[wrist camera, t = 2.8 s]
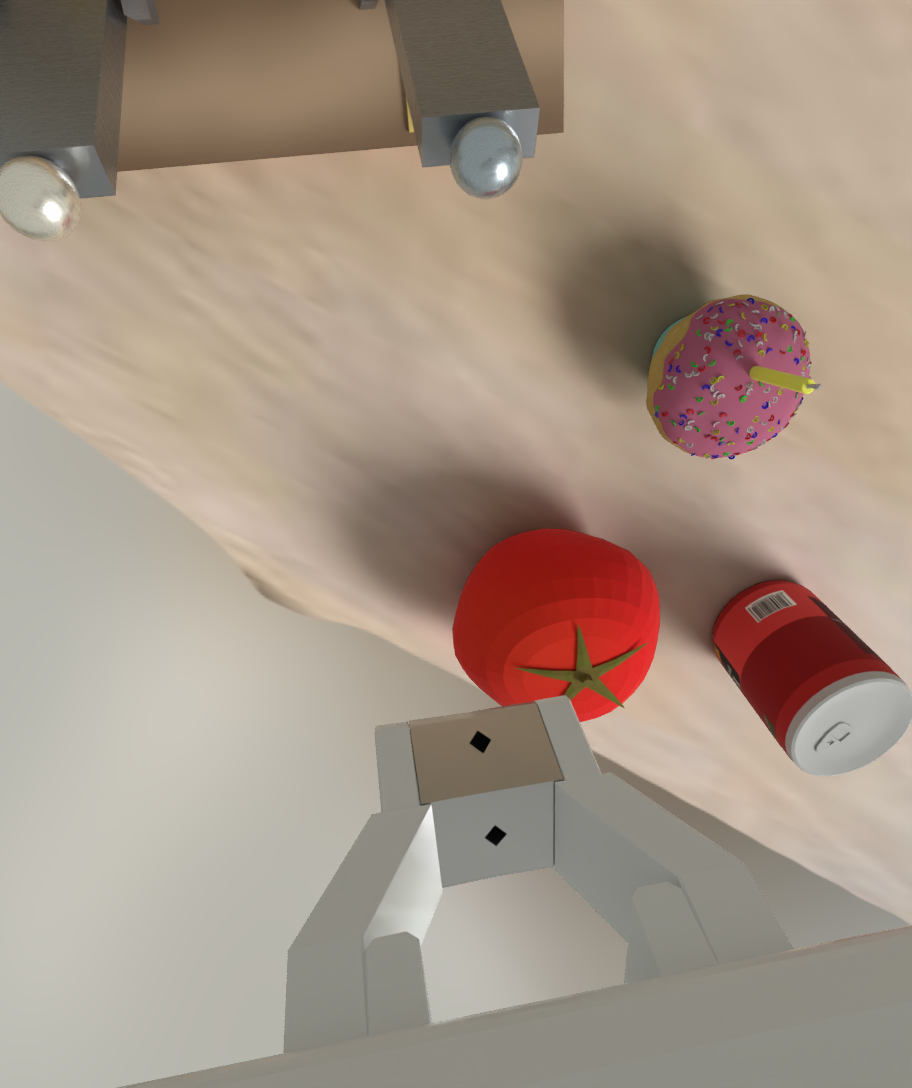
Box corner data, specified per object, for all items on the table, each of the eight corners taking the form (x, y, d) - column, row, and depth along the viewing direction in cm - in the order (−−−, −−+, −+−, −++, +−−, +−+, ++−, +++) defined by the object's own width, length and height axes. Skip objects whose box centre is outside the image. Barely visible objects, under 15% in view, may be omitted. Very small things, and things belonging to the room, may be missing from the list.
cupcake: (626, 285, 40) (731, 342, 30) (774, 273, 41) (927, 325, 30) (616, 434, 44) (704, 530, 34) (750, 420, 45) (876, 509, 35)
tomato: (597, 652, 52) (654, 763, 43) (429, 641, 50) (452, 757, 41) (646, 511, 47) (723, 603, 38) (461, 491, 44) (496, 585, 35)
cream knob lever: (130, 24, 27) (116, 251, 22) (28, 31, 27) (-12, 264, 21) (107, -46, 25) (84, 184, 20) (-4, -39, 25) (-58, 196, 19)
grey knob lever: (477, 0, 29) (547, 209, 23) (384, 6, 28) (432, 220, 23) (479, -69, 27) (557, 141, 21) (380, -63, 26) (432, 152, 21)
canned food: (688, 651, 54) (765, 765, 44) (751, 562, 50) (848, 664, 41) (768, 676, 56) (858, 788, 47) (833, 592, 53) (943, 694, 44)
